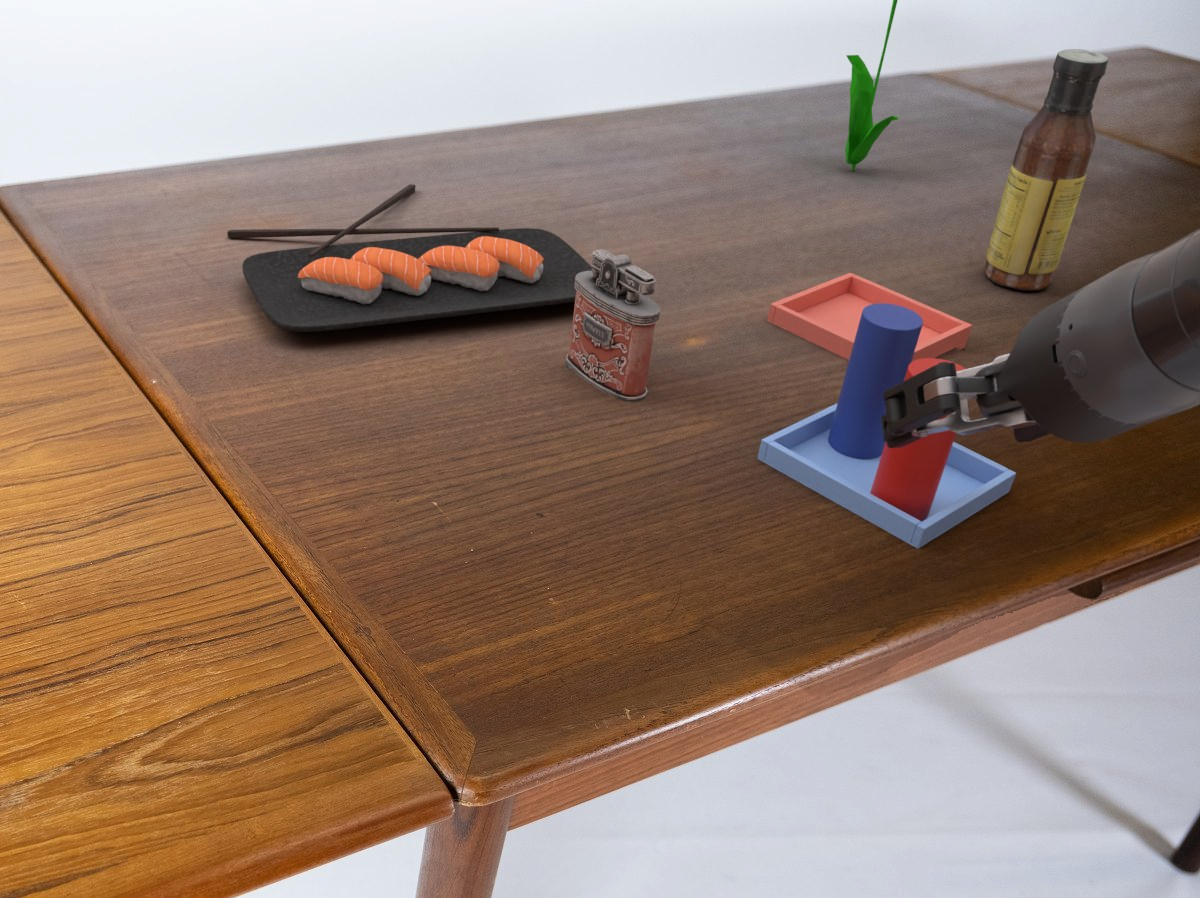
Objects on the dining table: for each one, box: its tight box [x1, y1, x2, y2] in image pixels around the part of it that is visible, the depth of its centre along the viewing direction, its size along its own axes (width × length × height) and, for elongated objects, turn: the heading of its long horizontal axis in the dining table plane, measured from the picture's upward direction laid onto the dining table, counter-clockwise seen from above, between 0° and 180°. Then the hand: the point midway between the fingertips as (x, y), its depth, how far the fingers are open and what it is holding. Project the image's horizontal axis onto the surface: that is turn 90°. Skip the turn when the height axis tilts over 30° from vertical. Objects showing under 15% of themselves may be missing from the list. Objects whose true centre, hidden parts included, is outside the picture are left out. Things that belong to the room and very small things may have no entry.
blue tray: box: [757, 403, 1017, 549], centre depth 88 cm, size 13×11×2 cm
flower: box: [844, 0, 899, 172], centre depth 130 cm, size 9×8×30 cm
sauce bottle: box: [983, 48, 1109, 292], centre depth 112 cm, size 6×6×20 cm
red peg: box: [870, 357, 969, 521], centre depth 82 cm, size 4×4×10 cm
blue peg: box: [828, 303, 923, 459], centre depth 88 cm, size 4×4×10 cm
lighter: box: [564, 249, 661, 403], centre depth 94 cm, size 8×3×10 cm, turn 35°
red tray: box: [766, 272, 973, 362], centre depth 106 cm, size 12×11×2 cm
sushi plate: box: [226, 183, 592, 333], centre depth 112 cm, size 29×30×4 cm
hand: (954, 428), depth 78 cm, fingers open, 8 cm apart
